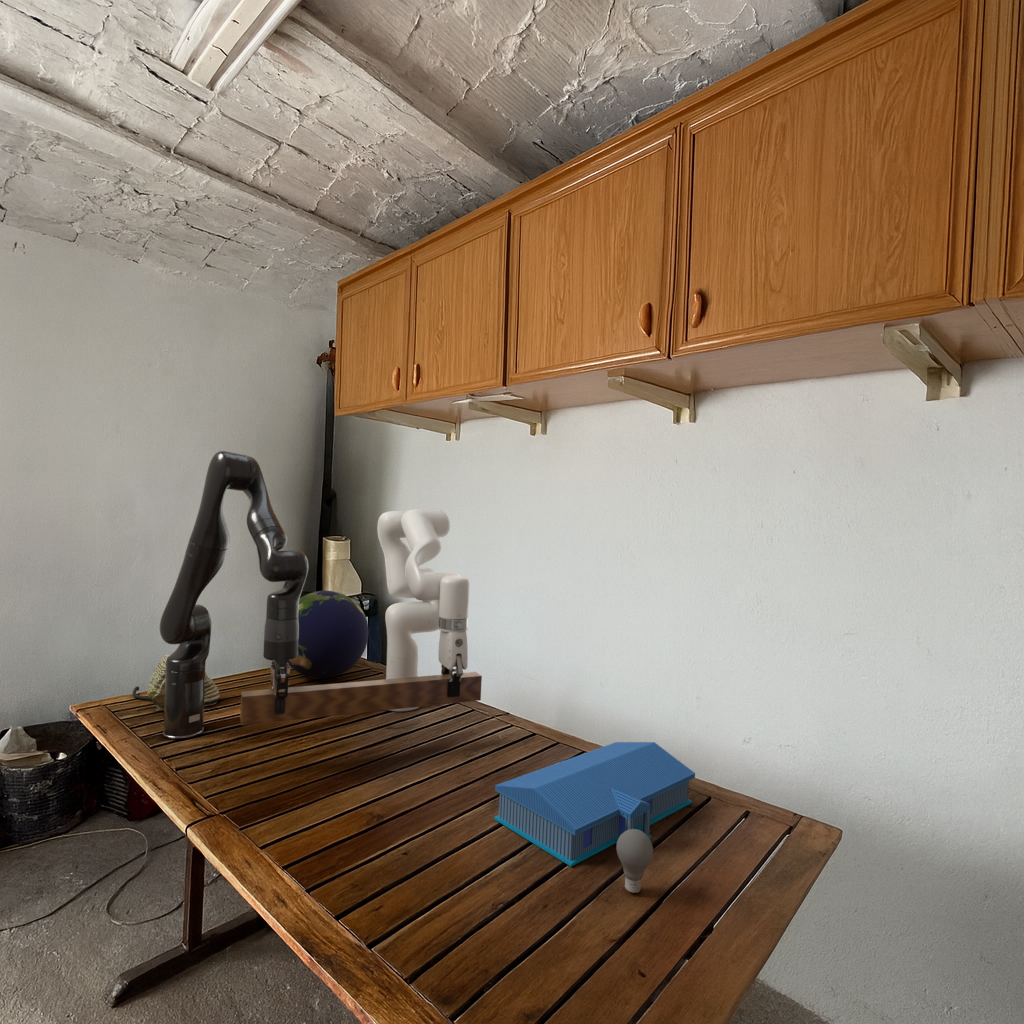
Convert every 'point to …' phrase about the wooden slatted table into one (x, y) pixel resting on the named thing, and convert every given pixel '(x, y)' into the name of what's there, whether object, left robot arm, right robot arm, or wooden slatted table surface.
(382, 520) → the right robot arm
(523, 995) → the wooden slatted table surface
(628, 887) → the light bulb
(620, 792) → the model building
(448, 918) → the wooden slatted table surface
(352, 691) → the bar
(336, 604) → the globe
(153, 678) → the fossil
